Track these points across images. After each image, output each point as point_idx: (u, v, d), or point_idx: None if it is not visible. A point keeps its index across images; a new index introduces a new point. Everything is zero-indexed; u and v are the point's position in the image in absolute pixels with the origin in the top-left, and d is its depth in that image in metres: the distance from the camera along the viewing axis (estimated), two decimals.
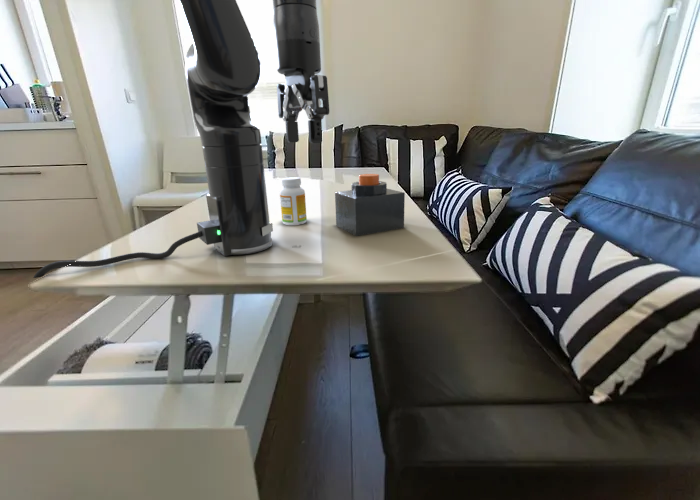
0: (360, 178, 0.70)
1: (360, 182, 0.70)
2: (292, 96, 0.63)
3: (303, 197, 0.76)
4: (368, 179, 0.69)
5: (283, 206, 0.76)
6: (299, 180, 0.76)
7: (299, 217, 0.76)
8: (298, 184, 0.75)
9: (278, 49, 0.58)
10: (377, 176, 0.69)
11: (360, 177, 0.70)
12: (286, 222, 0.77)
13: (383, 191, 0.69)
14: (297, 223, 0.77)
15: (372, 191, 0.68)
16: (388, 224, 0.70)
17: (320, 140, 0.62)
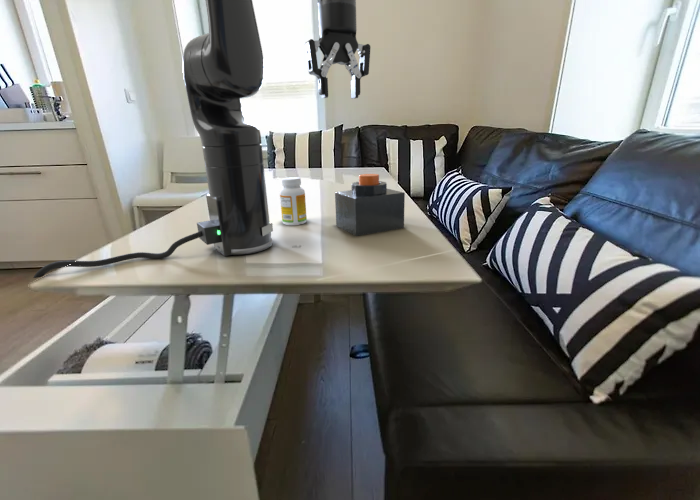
0: (360, 178, 0.70)
1: (360, 182, 0.70)
2: (336, 52, 0.72)
3: (303, 197, 0.76)
4: (368, 179, 0.69)
5: (283, 206, 0.76)
6: (299, 180, 0.76)
7: (299, 217, 0.76)
8: (298, 184, 0.75)
9: (346, 10, 0.68)
10: (377, 176, 0.69)
11: (360, 177, 0.70)
12: (286, 222, 0.77)
13: (383, 191, 0.69)
14: (297, 223, 0.77)
15: (372, 191, 0.68)
16: (388, 224, 0.70)
17: None
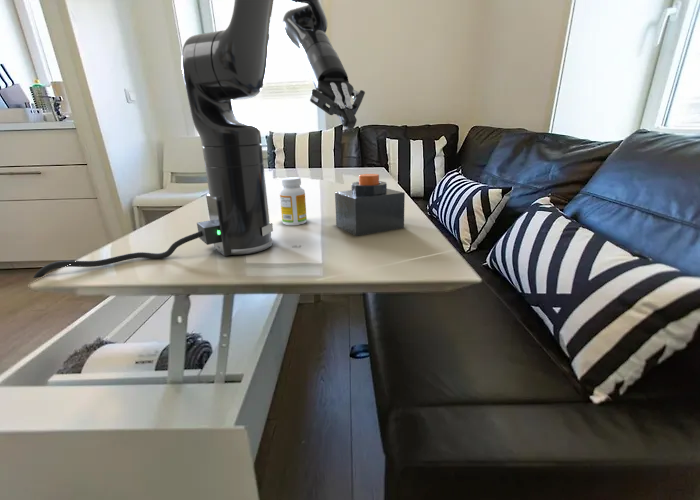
0: (360, 178, 0.70)
1: (360, 182, 0.70)
2: None
3: (303, 197, 0.76)
4: (368, 179, 0.69)
5: (283, 206, 0.76)
6: (299, 180, 0.76)
7: (299, 217, 0.76)
8: (298, 184, 0.75)
9: (333, 58, 0.77)
10: (377, 176, 0.69)
11: (360, 177, 0.70)
12: (286, 222, 0.77)
13: (383, 191, 0.69)
14: (297, 223, 0.77)
15: (372, 191, 0.68)
16: (388, 224, 0.70)
17: None
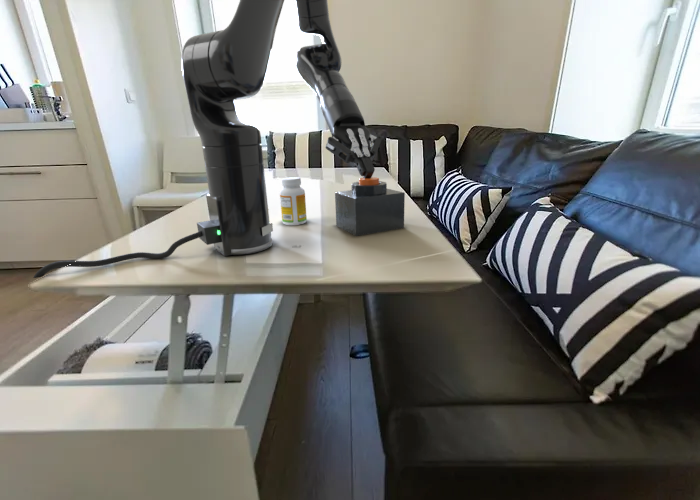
0: (360, 182, 0.70)
1: None
2: None
3: (303, 197, 0.76)
4: (368, 183, 0.69)
5: (283, 206, 0.76)
6: (299, 180, 0.76)
7: (299, 217, 0.76)
8: (298, 184, 0.75)
9: (349, 103, 0.74)
10: (377, 180, 0.70)
11: (360, 181, 0.70)
12: (286, 222, 0.77)
13: (383, 191, 0.69)
14: (297, 223, 0.77)
15: (372, 191, 0.68)
16: (388, 224, 0.70)
17: None
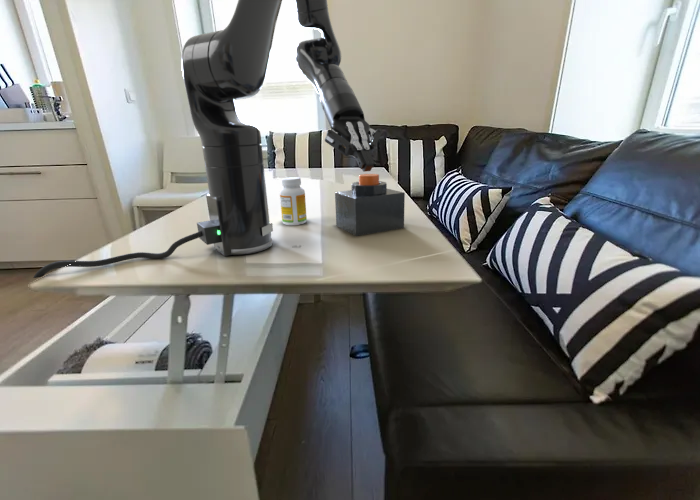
0: (360, 178, 0.70)
1: (360, 182, 0.70)
2: None
3: (303, 197, 0.76)
4: (368, 179, 0.69)
5: (283, 206, 0.76)
6: (299, 180, 0.76)
7: (299, 217, 0.76)
8: (298, 184, 0.75)
9: (349, 96, 0.73)
10: (377, 176, 0.69)
11: (360, 177, 0.70)
12: (286, 222, 0.77)
13: (383, 191, 0.69)
14: (297, 223, 0.77)
15: (372, 191, 0.68)
16: (388, 224, 0.70)
17: None
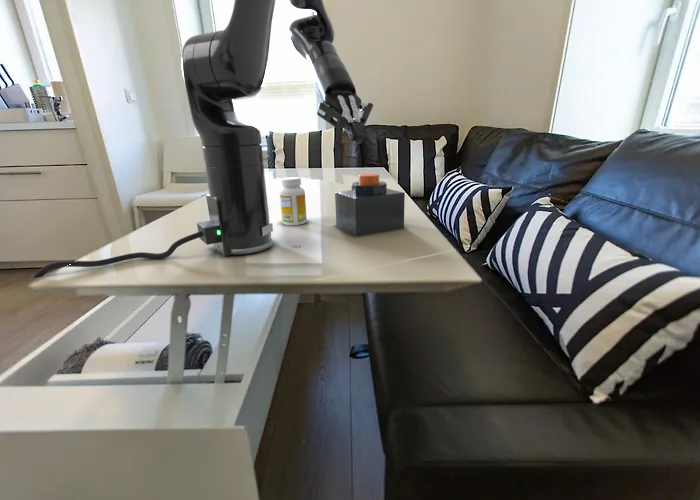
0: (360, 178, 0.70)
1: (360, 182, 0.70)
2: None
3: (303, 197, 0.76)
4: (368, 179, 0.69)
5: (283, 206, 0.76)
6: (299, 180, 0.76)
7: (299, 217, 0.76)
8: (298, 184, 0.75)
9: (340, 71, 0.75)
10: (377, 176, 0.69)
11: (360, 177, 0.70)
12: (286, 222, 0.77)
13: (383, 191, 0.69)
14: (297, 223, 0.77)
15: (372, 191, 0.68)
16: (388, 224, 0.70)
17: None
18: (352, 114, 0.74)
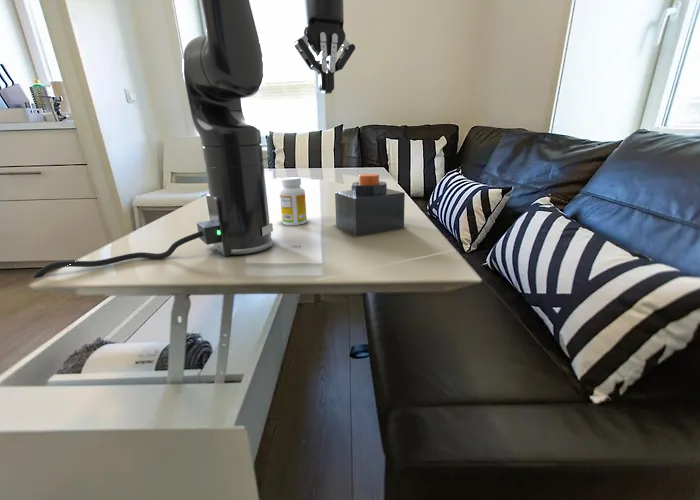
0: (360, 178, 0.70)
1: (360, 182, 0.70)
2: None
3: (303, 197, 0.76)
4: (368, 179, 0.69)
5: (283, 206, 0.76)
6: (299, 180, 0.76)
7: (299, 217, 0.76)
8: (298, 184, 0.75)
9: None
10: (377, 176, 0.69)
11: (360, 177, 0.70)
12: (286, 222, 0.77)
13: (383, 191, 0.69)
14: (297, 223, 0.77)
15: (372, 191, 0.68)
16: (388, 224, 0.70)
17: None
18: (329, 59, 0.72)
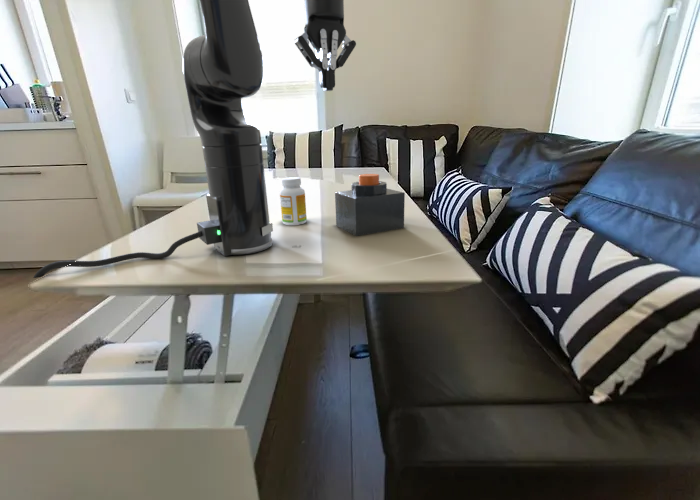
0: (360, 178, 0.70)
1: (360, 182, 0.70)
2: None
3: (303, 197, 0.76)
4: (368, 179, 0.69)
5: (283, 206, 0.76)
6: (299, 180, 0.76)
7: (299, 217, 0.76)
8: (298, 184, 0.75)
9: None
10: (377, 176, 0.69)
11: (360, 177, 0.70)
12: (286, 222, 0.77)
13: (383, 191, 0.69)
14: (297, 223, 0.77)
15: (372, 191, 0.68)
16: (388, 224, 0.70)
17: None
18: (330, 56, 0.71)
